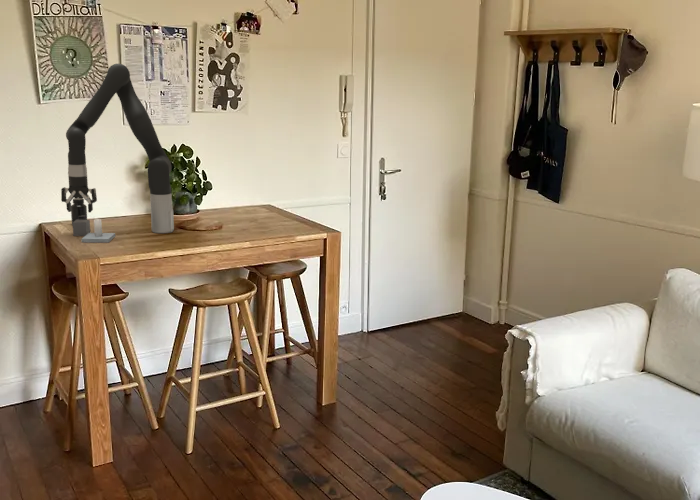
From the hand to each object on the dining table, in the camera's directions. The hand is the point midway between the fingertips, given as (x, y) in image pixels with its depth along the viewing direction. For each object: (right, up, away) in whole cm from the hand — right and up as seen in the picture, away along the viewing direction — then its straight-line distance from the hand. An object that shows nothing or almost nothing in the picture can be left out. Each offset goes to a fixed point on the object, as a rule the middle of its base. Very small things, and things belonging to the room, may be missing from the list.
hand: (79, 211), depth 305 cm
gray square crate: (0, -10, +2) cm, 10 cm away
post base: (+10, -12, -5) cm, 17 cm away
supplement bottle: (-8, -5, +21) cm, 23 cm away
